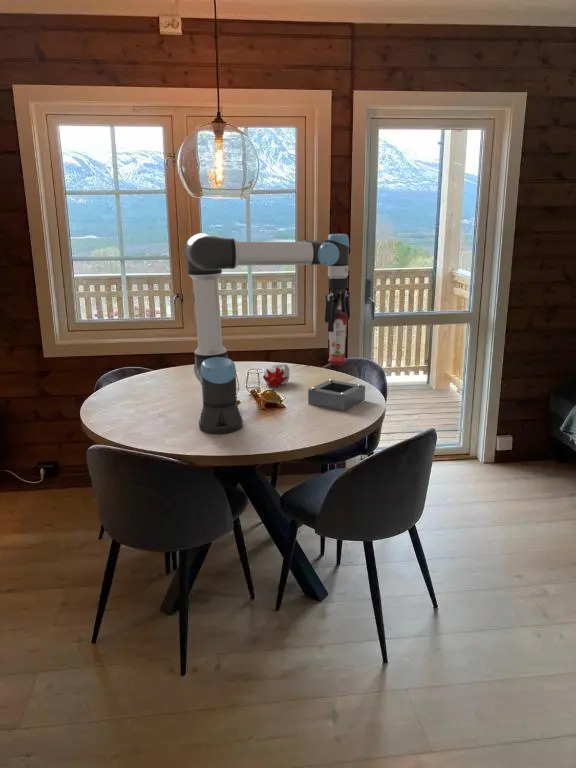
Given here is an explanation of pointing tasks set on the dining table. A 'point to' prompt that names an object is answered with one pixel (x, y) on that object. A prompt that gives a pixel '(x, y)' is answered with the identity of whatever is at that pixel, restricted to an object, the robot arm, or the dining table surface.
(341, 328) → the liquor
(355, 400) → the housing
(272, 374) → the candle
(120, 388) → the dining table surface
